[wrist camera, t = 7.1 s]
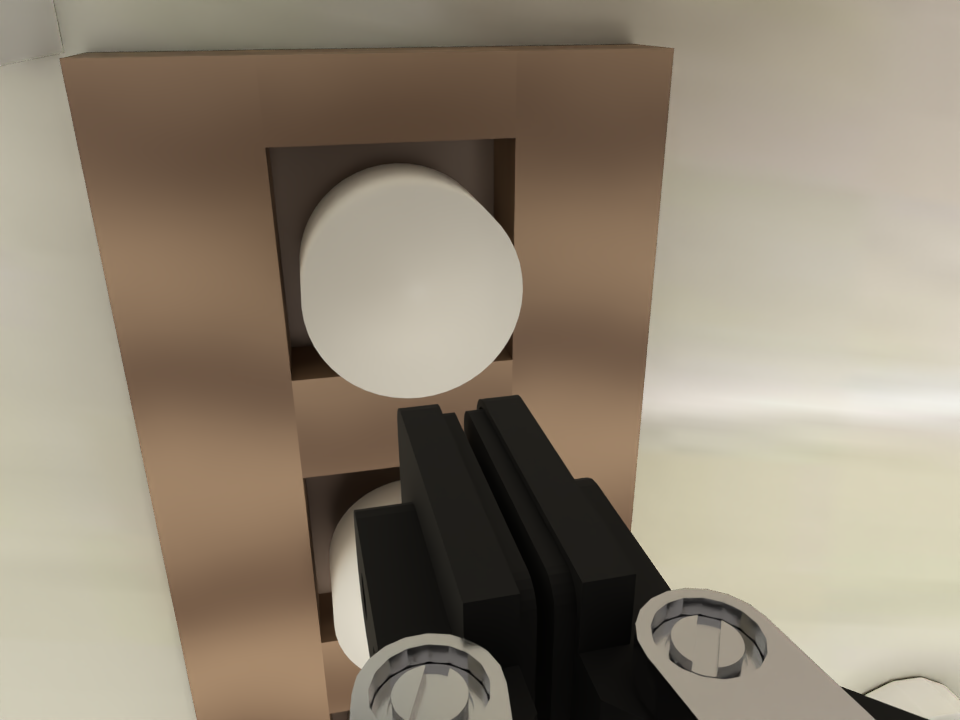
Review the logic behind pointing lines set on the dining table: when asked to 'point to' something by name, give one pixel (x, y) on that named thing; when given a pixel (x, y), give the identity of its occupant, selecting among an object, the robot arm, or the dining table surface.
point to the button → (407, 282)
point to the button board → (279, 319)
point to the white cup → (920, 698)
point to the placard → (28, 30)
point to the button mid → (353, 575)
